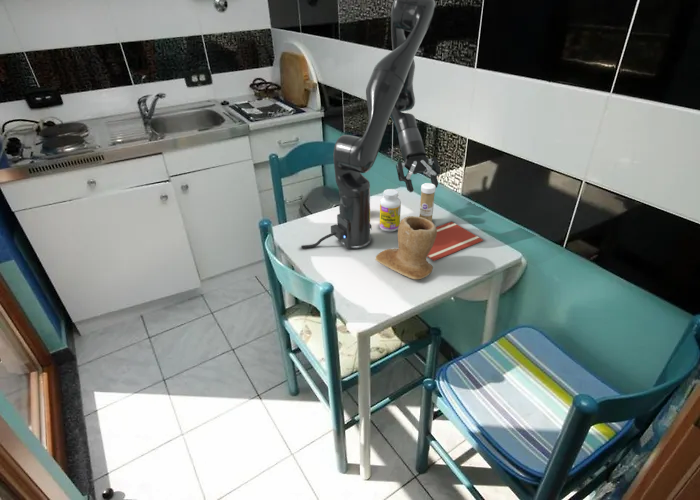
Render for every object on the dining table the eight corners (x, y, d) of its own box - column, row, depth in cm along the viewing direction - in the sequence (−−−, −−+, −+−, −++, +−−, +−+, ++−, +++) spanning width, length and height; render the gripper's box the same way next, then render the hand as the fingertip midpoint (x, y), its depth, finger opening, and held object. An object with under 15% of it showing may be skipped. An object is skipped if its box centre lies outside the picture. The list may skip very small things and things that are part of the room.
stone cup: (441, 268, 118) (447, 222, 110) (415, 287, 111) (419, 239, 103) (400, 248, 127) (402, 204, 119) (373, 264, 120) (374, 219, 112)
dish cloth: (433, 261, 121) (433, 259, 121) (403, 240, 131) (404, 238, 131) (482, 240, 129) (483, 239, 129) (451, 222, 140) (451, 221, 139)
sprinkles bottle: (418, 224, 139) (420, 187, 131) (419, 218, 142) (421, 182, 135) (431, 226, 138) (435, 188, 130) (432, 219, 142) (436, 182, 134)
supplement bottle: (376, 230, 136) (377, 194, 129) (383, 221, 142) (383, 186, 135) (396, 233, 134) (397, 197, 127) (402, 224, 139) (403, 189, 132)
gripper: (394, 142, 135) (407, 188, 132) (434, 136, 138) (448, 182, 135) (388, 152, 142) (400, 196, 139) (426, 147, 145) (439, 190, 142)
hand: (423, 189), depth 137 cm, fingers open, 8 cm apart
